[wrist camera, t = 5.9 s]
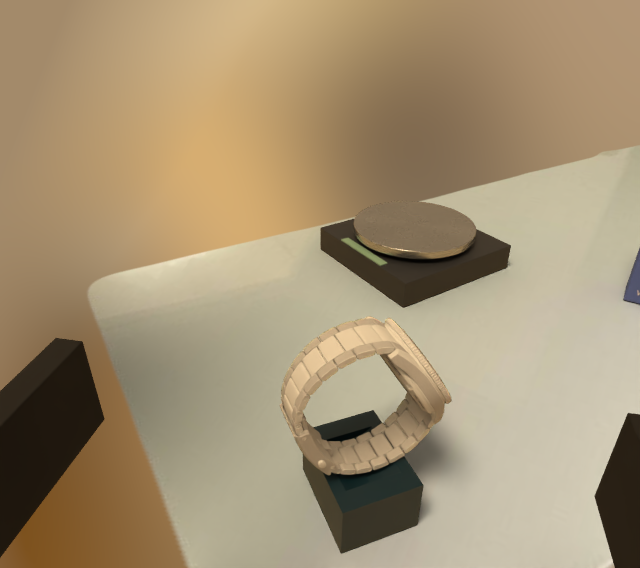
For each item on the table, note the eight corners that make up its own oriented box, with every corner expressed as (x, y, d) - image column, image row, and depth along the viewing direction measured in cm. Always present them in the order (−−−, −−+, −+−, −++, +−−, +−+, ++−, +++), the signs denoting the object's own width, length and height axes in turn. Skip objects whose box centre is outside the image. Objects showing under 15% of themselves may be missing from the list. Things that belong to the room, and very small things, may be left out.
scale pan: (407, 272, 45) (407, 263, 44) (330, 223, 53) (330, 216, 53) (501, 239, 50) (503, 231, 50) (418, 199, 58) (418, 193, 58)
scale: (403, 307, 45) (405, 282, 44) (320, 248, 55) (320, 226, 53) (506, 267, 51) (511, 244, 50) (416, 220, 61) (418, 200, 59)
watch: (449, 512, 28) (482, 348, 23) (307, 565, 26) (305, 395, 20) (398, 438, 33) (415, 285, 27) (273, 477, 30) (263, 317, 25)
